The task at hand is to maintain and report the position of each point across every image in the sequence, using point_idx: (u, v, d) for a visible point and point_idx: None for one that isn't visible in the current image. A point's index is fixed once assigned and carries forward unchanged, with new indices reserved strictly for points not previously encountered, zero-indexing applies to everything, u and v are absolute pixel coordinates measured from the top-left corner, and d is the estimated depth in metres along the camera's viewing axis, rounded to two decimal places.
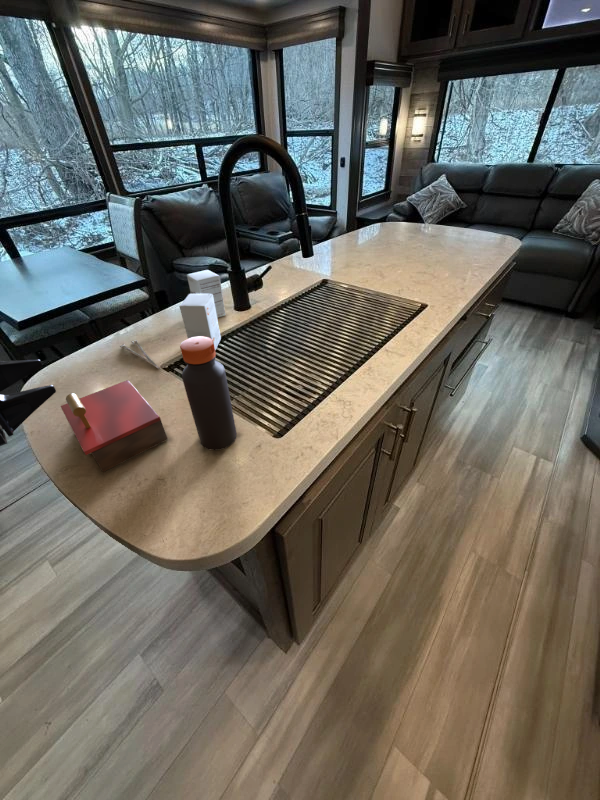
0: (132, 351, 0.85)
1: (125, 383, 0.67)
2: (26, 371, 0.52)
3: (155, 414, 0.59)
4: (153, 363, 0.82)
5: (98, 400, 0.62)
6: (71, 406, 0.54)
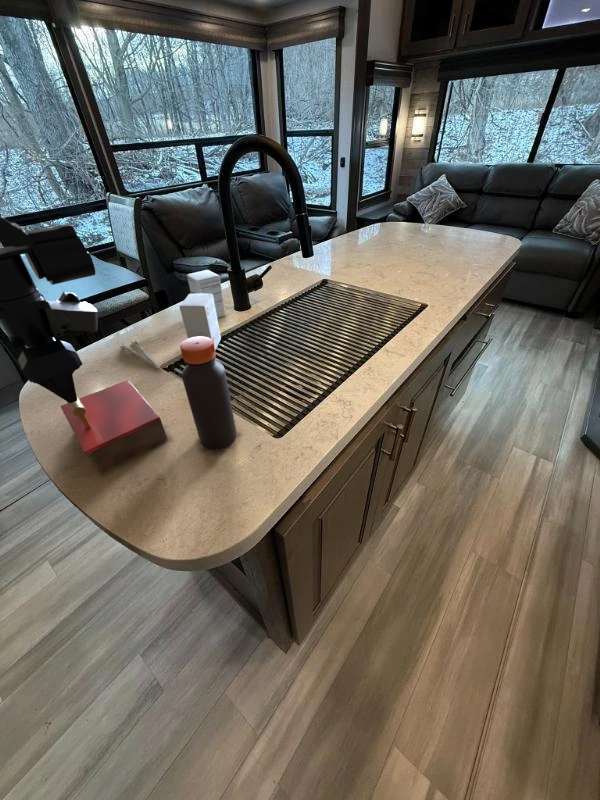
0: (132, 351, 0.85)
1: (125, 383, 0.67)
2: None
3: (155, 414, 0.59)
4: (153, 363, 0.82)
5: (98, 400, 0.62)
6: (71, 406, 0.54)
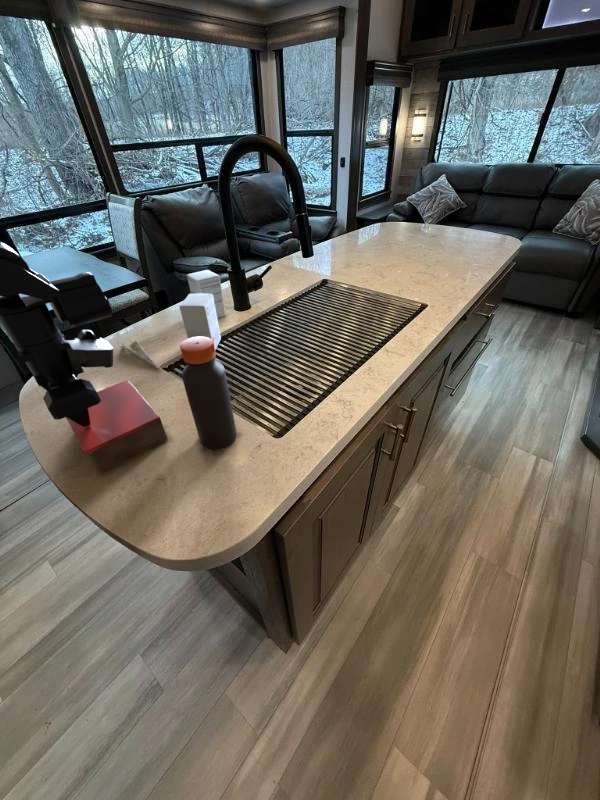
0: (132, 351, 0.85)
1: (125, 383, 0.67)
2: None
3: (155, 414, 0.59)
4: (153, 363, 0.82)
5: None
6: None
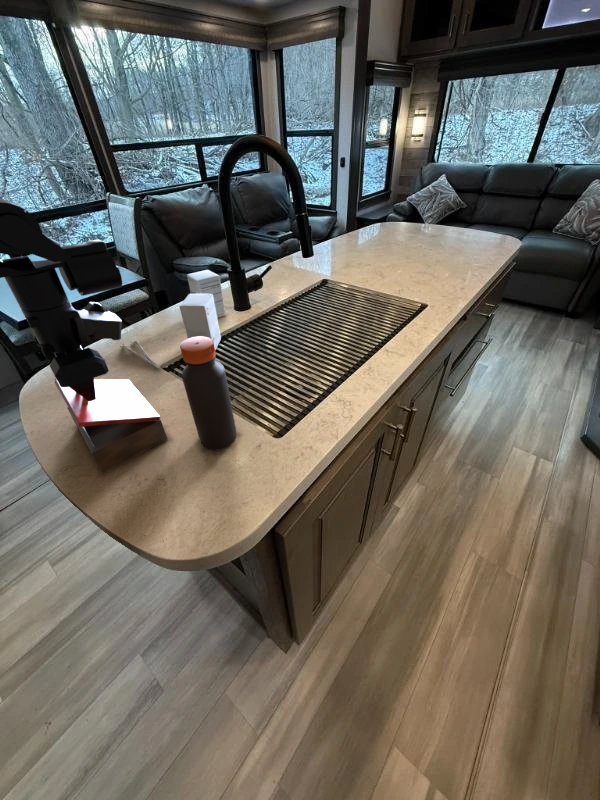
0: (132, 351, 0.85)
1: (126, 381, 0.67)
2: None
3: (156, 413, 0.59)
4: (153, 363, 0.82)
5: (97, 386, 0.61)
6: None
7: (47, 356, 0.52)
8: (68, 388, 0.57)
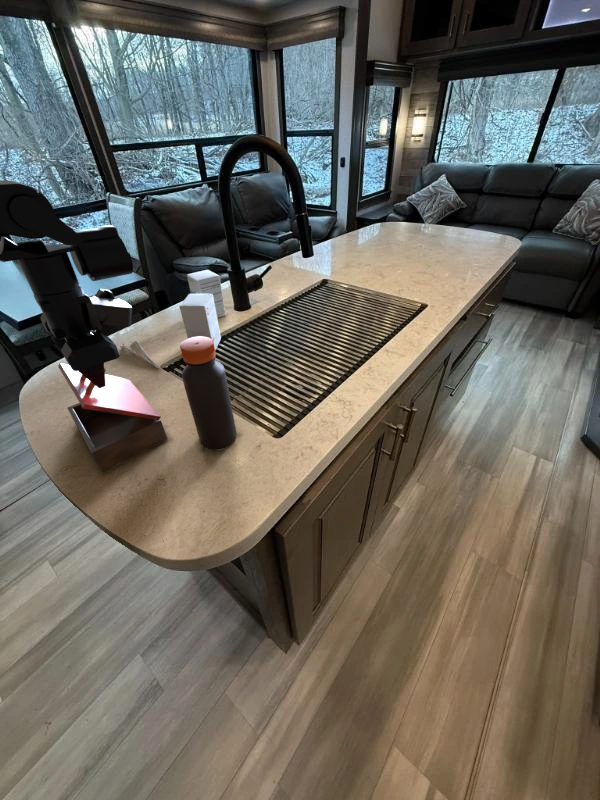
0: (132, 351, 0.85)
1: (127, 380, 0.67)
2: None
3: (157, 413, 0.59)
4: (153, 363, 0.82)
5: None
6: None
7: (57, 342, 0.52)
8: (73, 373, 0.57)
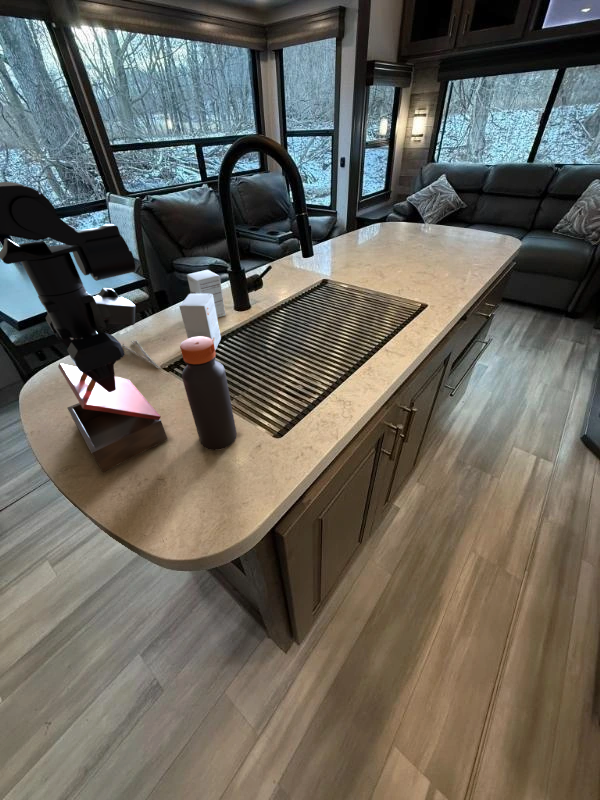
0: (132, 351, 0.85)
1: (127, 380, 0.67)
2: None
3: (157, 413, 0.59)
4: (153, 363, 0.82)
5: None
6: None
7: (60, 338, 0.54)
8: (72, 373, 0.57)
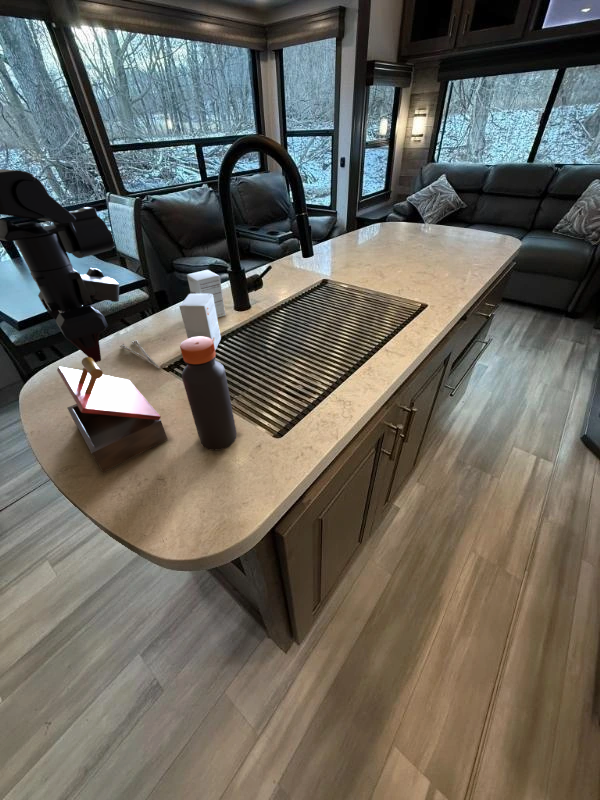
0: (132, 351, 0.85)
1: (126, 380, 0.67)
2: None
3: (157, 413, 0.59)
4: (154, 363, 0.82)
5: (99, 380, 0.61)
6: (90, 366, 0.53)
7: (51, 313, 0.60)
8: (71, 376, 0.57)
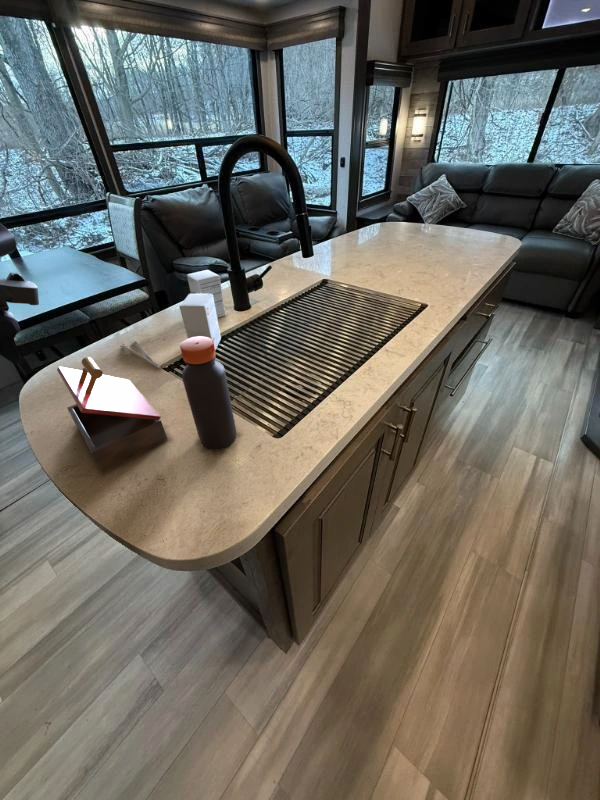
0: (132, 351, 0.85)
1: (126, 380, 0.67)
2: None
3: (157, 413, 0.59)
4: (154, 363, 0.82)
5: (99, 380, 0.61)
6: (90, 366, 0.53)
7: None
8: (71, 376, 0.57)
